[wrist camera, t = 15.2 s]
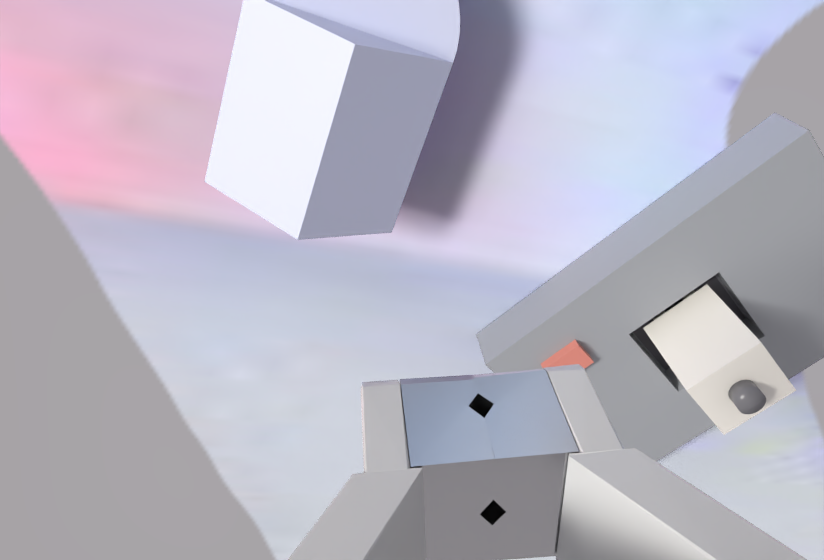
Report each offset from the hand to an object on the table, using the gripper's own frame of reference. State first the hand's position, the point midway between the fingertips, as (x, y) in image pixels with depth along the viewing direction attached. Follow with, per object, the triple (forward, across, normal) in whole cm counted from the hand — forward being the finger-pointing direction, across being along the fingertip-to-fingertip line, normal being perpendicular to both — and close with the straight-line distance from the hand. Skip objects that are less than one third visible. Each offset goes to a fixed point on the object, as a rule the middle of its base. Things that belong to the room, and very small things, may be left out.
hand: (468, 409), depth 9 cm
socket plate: (+26, -17, +17) cm, 35 cm away
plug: (+25, -17, +17) cm, 34 cm away
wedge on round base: (+26, +2, +1) cm, 26 cm away
